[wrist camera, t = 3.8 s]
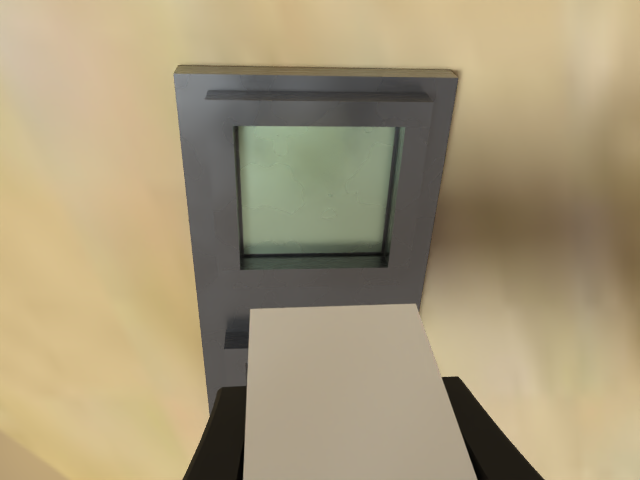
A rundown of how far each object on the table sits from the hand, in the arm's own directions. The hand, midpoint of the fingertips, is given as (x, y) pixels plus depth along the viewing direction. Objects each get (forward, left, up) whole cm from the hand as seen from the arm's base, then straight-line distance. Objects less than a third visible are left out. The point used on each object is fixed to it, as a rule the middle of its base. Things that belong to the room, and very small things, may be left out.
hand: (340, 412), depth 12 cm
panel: (0, +4, -10) cm, 11 cm away
